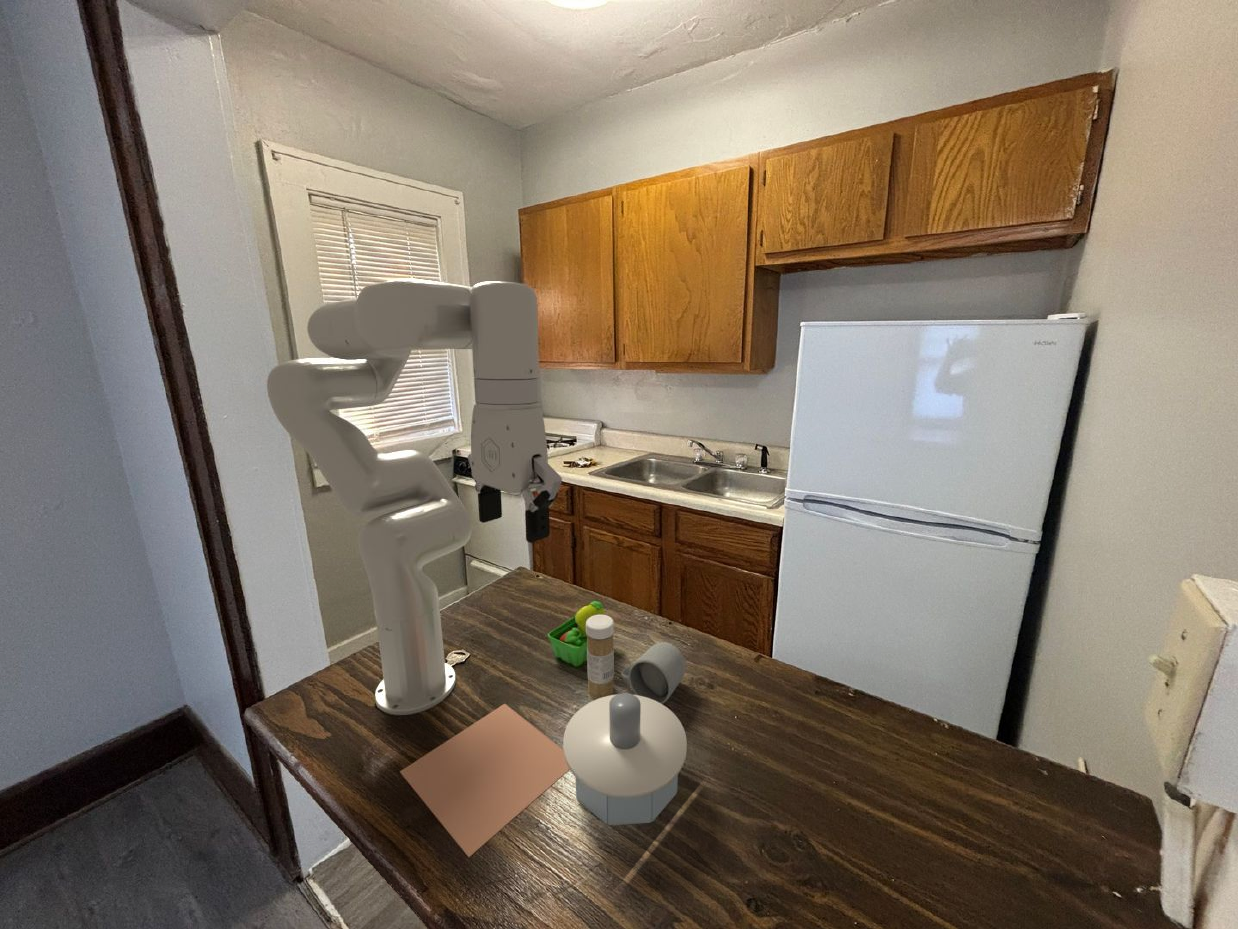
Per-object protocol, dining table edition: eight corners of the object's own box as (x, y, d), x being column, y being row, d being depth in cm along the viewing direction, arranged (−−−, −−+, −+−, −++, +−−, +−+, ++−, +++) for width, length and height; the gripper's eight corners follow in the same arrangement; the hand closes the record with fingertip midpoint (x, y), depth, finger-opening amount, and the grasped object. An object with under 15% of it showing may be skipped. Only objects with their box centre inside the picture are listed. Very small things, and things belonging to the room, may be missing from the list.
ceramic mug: (688, 682, 82) (689, 642, 81) (669, 712, 75) (670, 670, 74) (634, 664, 88) (634, 626, 86) (612, 691, 81) (611, 650, 79)
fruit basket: (585, 631, 98) (584, 580, 95) (620, 646, 93) (620, 593, 90) (546, 659, 89) (544, 604, 86) (582, 677, 84) (581, 620, 81)
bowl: (556, 783, 63) (554, 745, 62) (620, 727, 72) (620, 693, 71) (631, 849, 55) (632, 807, 53) (693, 775, 64) (694, 738, 63)
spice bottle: (607, 680, 83) (606, 611, 80) (618, 697, 79) (618, 624, 76) (583, 688, 81) (581, 617, 78) (593, 705, 77) (592, 631, 74)
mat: (400, 774, 64) (399, 771, 64) (504, 706, 77) (504, 703, 77) (469, 860, 53) (468, 857, 53) (578, 764, 66) (578, 761, 66)
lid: (537, 747, 61) (535, 708, 60) (618, 683, 73) (618, 650, 72) (633, 825, 51) (633, 781, 50) (709, 737, 63) (711, 699, 62)
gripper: (440, 390, 59) (450, 520, 63) (528, 402, 48) (533, 558, 52) (492, 387, 65) (497, 507, 69) (581, 397, 54) (582, 538, 58)
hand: (513, 529), depth 60 cm, fingers open, 9 cm apart
